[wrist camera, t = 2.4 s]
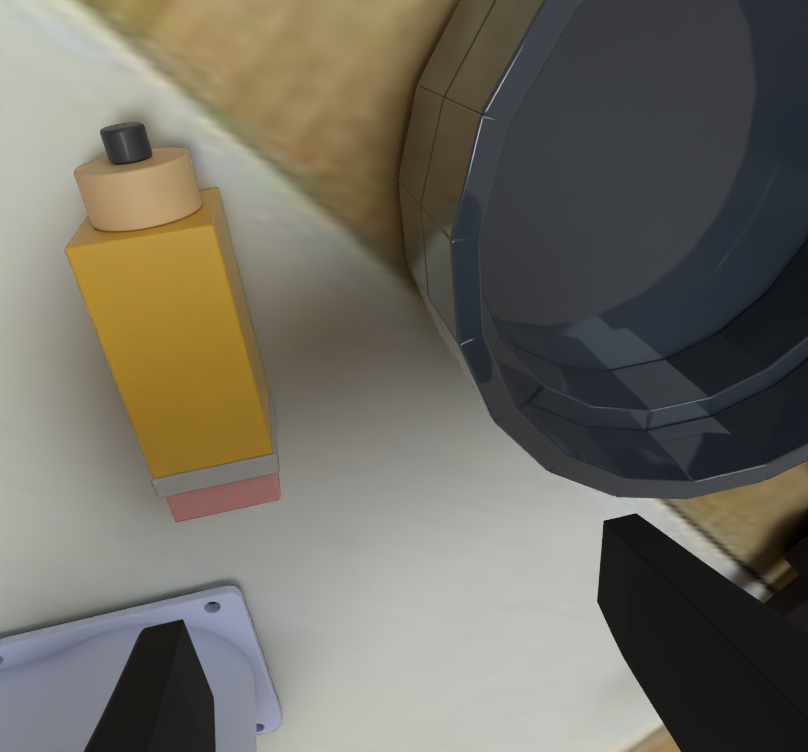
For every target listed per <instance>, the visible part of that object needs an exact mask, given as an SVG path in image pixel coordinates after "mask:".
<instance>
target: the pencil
mask: <svg viewBox="0 0 808 752" xmlns="http://www.w3.org/2000/svg"><path fill="white" fill-rule="evenodd" d="M100 134H101V137H102V140H103V144H104V147H105V150H106V153H107V156H106V157H103V158H99V159H96V160H93V161H90V162H88V163H85V164H83V165H81V166H79V167H78V168H77V169H75V171H74V176H75V179H76V182H77V184H78V187H79V190H80V193H81V196H82V199H83V201H84V204H85V207H86V210H87V213H88V217H87V218H86V220H85V221H84V222H83V224H82V225H81V226H80V228H79V229H78V231H77V232H76V233H75V235H74V236H73V238H72V239H71V240H70V242H69V243H68V245H67V246H66V247H65V253H66V255H67V258H68V261H69V263H70V266H71V268H72V271H73V273H74V276H75V279H76V281H77V284H78V286H79V289H80V292H81V294H82V297H83V299H84V302H85V305H86V307H87V310H88V312H89V315H90V318H91V320H92V323H93V325H94V328H95V331H96V333H97V336H98V338H99V341H100V344H101V346H102V349H103V351H104V354H105V357H106V359H107V362H108V364H109V367H110V370H111V372H112V375H113V377H114V380H115V383H116V385H117V388H118V390H119V393H120V395H121V398H122V401H123V403H124V406H125V408H126V411H127V414H128V416H129V419H130V421H131V424H132V427H133V429H134V432H135V434H136V437H137V440H138V442H139V445H140V447H141V450H142V453H143V455H144V458H145V460H146V463H147V466H148V468H149V471H150V473H151V476H152V479H151V483H152V485H153V488H154V491H155V493H156V496H157V497H158V498H163V497H166V499H167V502H168V504H169V507H170V510H171V512H172V515H173V518H174V520H175V521H176V522H181V521H185V520H190V519H194V518H199V517H203V516H208V515H212V514H217V513H221V512H226V511H230V510H235V509H239V508H244V507H248V506H253V505H258V504H262V503H267V502H271V501H276V500H279V499H280V497H281V491H280V479H279V458H278V446H277V434H276V422H275V410H274V404H273V400H272V396H271V393H270V392H268V387H267V383H266V379H265V375H264V371H263V366H262V362H261V358H260V354H259V350H258V346H257V342H256V338H255V334H254V330H253V326H252V322H251V318H250V314H249V310H248V306H247V302H246V298H245V294H244V290H243V286H242V282H241V278H240V274H239V270H238V266H237V261H236V257H235V253H234V249H233V245H232V241H231V237H230V233H229V229H228V225H227V221H226V217H225V213H224V209H223V205H222V201H221V197H220V193H219V190H218V188H213V189H206V190H200V191H199V188H198V184H197V180H196V177H195V173H194V169H193V165H192V161H191V158H190V154H189V152H188V151H187V150H186V149H182V148H174V147H163V148H151V146H150V143H149V139H148V136H147V132H146V129H145V126H144V124H143V123H140V122H129V123H121V124H116V125H111V126H108V127H105V128H103V129H101V130H100Z"/></svg>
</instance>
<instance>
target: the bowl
mask: <svg viewBox="0 0 808 752" xmlns="http://www.w3.org/2000/svg"><path fill="white" fill-rule="evenodd" d="M418 85H419V86H417V88H416V92H415V97H414V102H413V108H412V113H411V118H410V123H409V128H408V133H407V138H406V143H405V148H404V153H403V158H402V163H401V168H400V174H399V180H400V181H399V183H398V184H399V193H400V202H401V212H402V221H403V230H404V240H405V249H406V258H407V263H408V265H409V270H410V272H411V274H412V276H413V278H414V280H415V282H416V284H417V287H418V289H419V291H420V293H421V295H422V297H423V299H424V301H425V303H426V306H427V308H428V310H429V312H430V314H431V316H432V318H433V320H434V323H435V325H436V327H437V329H438V331H439V332H440V334H441V335H442V337H443V339H444V340H445V342H446V344H447V345H448V347H449V349H450V350H451V352H452V354H453V355H454V357H455V359H456V360H457V362H458V364H459V365H460V367H461V369H462V370H463V372H464V374H465V375H466V377H467V379H468V380H469V382H470V384H471V385H472V387H473V389H474V390H475V392H476V394H477V395H478V397H479V399H480V400H481V402H482V404H483V405H484V407H485V409H486V410H487V412H488V414H489V415H490V417H491V419H493V421H494V423H496V424H497V425H498V426H499V427H500V428H501V429H502V430H503V431H504V432H505V433H506V434H507V435H509V436H510V437H511V438H512V439H513V440H514V441H515V442H516V443H517V444H518V445H519V446H521V447H522V448H523V449H524V450H525V451H526V452H527V453H528V454H529V455H530V456H531V457H532V458H534V459H535V460H536V461H537V462H538V463H539V464H540V465H541V466H542V467H543V468H544V469H546V470H547V471H549V472H551V473H553V474H556V475H559V476H561V477H564V478H567V479H569V480H572V481H575V482H577V483H580V484H583V485H585V486H588V487H591V488H593V489H596V490H599V491H601V492H604V493H607V494H609V495H612V496H616V497H628V498H661V499H689V498H696V497H700V496H704V495H708V494H712V493H716V492H721V491H725V490H729V489H733V488H737V487H741V486H745V485H750V484H754V483H758V482H762V481H764V480H765V479H766V480H768V479H770V478H772V477H774V476H776V475H778V474H780V473H782V472H784V471H786V470H788V469H790V468H793V467H795V466H797V465H799V464H801V463H803V462H805V461H807V460H808V0H460V2H459V4H458V6H457V8H456V10H455V12H454V14H453V16H452V18H451V20H450V22H449V24H448V26H447V27H446V29H445V31H444V33H443V35H442V37H441V39H440V41H439V43H438V45H437V47H436V49H435V51H434V53H433V55H432V56H431V58H430V60H429V62H428V64H427V66H426V68H425V70H424V72H423V74H422V76H421V78H420V80H419V82H418Z"/></svg>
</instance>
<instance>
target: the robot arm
mask: <svg viewBox="0 0 808 752" xmlns="http://www.w3.org/2000/svg"><path fill="white" fill-rule="evenodd" d="M209 602H216V603H215V604H209ZM597 602H598V604H599V606H600V609H601V611H602V613H603V615H604V617H605V620H606V622H607V624H608V626H609V628H610V631H611V633H612V635H613V637H614V639H615V641H616V643H617V645H618V647H619V649H620V651H621V654H622V656H623V657H624V659H625V661H626V663H627V664H628V666H629V668H630V669H631V671H632V673H633V674H634V676H635V677H636V679H637V681H638V682H639V684H640V686H641V687H642V689H643V691H644V692H645V694H646V696H647V697H648V699H649V700H650V702H651V704H652V705H653V707H654V708H655V710H656V712H657V713H658V715H659V717H660V718H661V720H662V721H663V723H664V725H665V726H666V728H667V729H668V731H669V733H670V734H671V736H672V738H673V739H674V741H675V742H676V744H677V746H678V747H679V749H680V751H681V752H808V631H806V630H804V629H803V628H801V627H800V626H798V625H796V624H795V623H793V622H792V621H790V620H788V619H787V618H785V617H783V616H782V615H780V614H779V613H777V612H776V611H774V610H773V609H771V608H770V607H768V606H767V605H765V604H763V603H762V602H761V601H759V600H758V599H756V598H755V597H753V596H752V595H750V594H749V593H747V592H746V591H744V590H743V589H741V588H740V587H738V586H737V585H736V584H734V583H733V582H731V581H730V580H728V579H727V578H725V577H724V576H722V575H721V574H720V573H718V572H717V571H715V570H714V569H713V568H711V567H710V566H708V565H707V564H706V563H704V562H703V561H701V560H700V559H699V558H697V557H696V556H694V555H693V554H692V553H690V552H689V551H688V550H686V549H685V548H683V547H682V546H681V545H679V544H678V543H677V542H675V541H674V540H672V539H671V538H670V537H668V536H667V535H666V534H664V533H663V532H661V531H660V530H659V529H657V528H656V527H655V526H653V525H652V524H650V523H649V522H648V521H646V520H645V519H643V518H642V517H641V516H639V515H638V514H631V515H627V516H623V517H618V518H614V519H610V520H606V521H604V525H603V537H602V549H601V562H600V574H599V586H598V598H597ZM282 723H283V719H282V711H281V708H280V705H279V702H278V699H277V696H276V693H275V690H274V687H273V684H272V681H271V678H270V675H269V672H268V669H267V666H266V663H265V660H264V657H263V654H262V651H261V648H260V645H259V642H258V639H257V636H256V633H255V630H254V627H253V624H252V621H251V618H250V615H249V612H248V609H247V606H246V603H245V600H244V597H243V594H242V592H241V590H240V589H239V588H237V587H235V586H230V585H228V586H221V587H217V588H213V589H209V590H204V591H200V592H196V593H192V594H188V595H183V596H179V597H175V598H171V599H166V600H162V601H158V602H154V603H149V604H145V605H141V606H137V607H132V608H128V609H124V610H120V611H115V612H111V613H107V614H103V615H98V616H94V617H90V618H86V619H81V620H77V621H73V622H69V623H64V624H60V625H56V626H52V627H47V628H43V629H39V630H35V631H30V632H26V633H22V634H18V635H14V636H9V637H5V638H1V639H0V752H257V741H256V735H260V734H264V733H268V732H271V731H274V730H277V729H278V728H279V727H280V726H281V725H282Z"/></svg>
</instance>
